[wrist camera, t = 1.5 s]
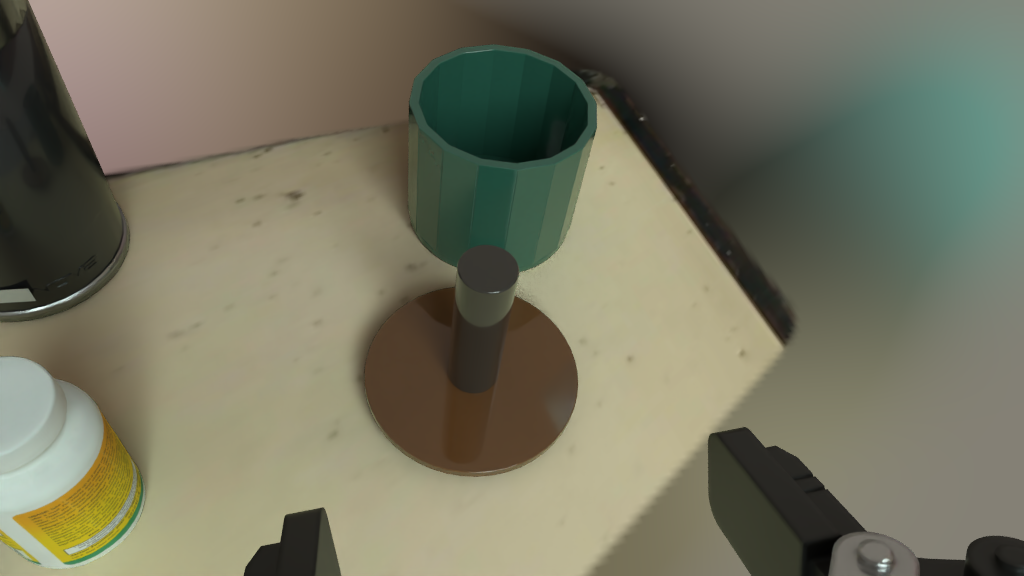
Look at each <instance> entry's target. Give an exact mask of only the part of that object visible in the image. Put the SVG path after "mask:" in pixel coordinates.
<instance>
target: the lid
mask: <svg viewBox="0 0 1024 576" xmlns="http://www.w3.org/2000/svg"><path fill="white" fill-rule="evenodd" d="M518 277H519V266H518V263H517V261H516V260H515V258H514V257H513V256H512V255H511V254H510V253H509V252H508V251H506V250H505V249H503V248H500V247H498V246H494V245H479V246H475V247H472V248H470V249H468V250H467V251H466V252H465V253H463V255H462V256H461V257H460V259H459V261H458V264H457V274H456V284H455V287H452V288H445V289H441V290H437V291H433V292H430V293H427V294H425V295H422V296H419V297H418V298H416V299H414V300H412V301H410V302H408V303H407V304H405V305H404V306H402V307H401V308H399V309H398V310H397V311H396V312H395V313H394V314H392V315H391V316H390V317H389V318H388V319H387V321H386V322H385V323H384V324H383V325H382V326H381V328H380V329H379V331H378V332H377V334H376V336H375V337H374V339H373V341H372V344H371V346H370V348H369V351H368V355H367V358H366V364H365V371H364V378H365V392H366V397H367V402H368V405H369V408H370V411H371V414H372V416H373V418H374V419H375V421H376V423H377V425H378V427H379V428H380V430H381V431H382V432H383V434H384V435H385V436H386V438H387V439H388V440H389V441H390V442H391V443H392V444H393V445H394V446H395V447H396V448H397V449H399V450H400V451H401V452H402V453H404V454H405V455H406V456H408V457H409V458H411V459H413V460H414V461H416V462H418V463H420V464H422V465H424V466H426V467H429V468H431V469H434V470H437V471H440V472H443V473H447V474H453V475H459V476H474V477H478V476H490V475H496V474H501V473H505V472H508V471H511V470H514V469H517V468H520V467H522V466H524V465H526V464H528V463H530V462H532V461H533V460H535V459H536V458H538V457H539V456H540V455H542V454H543V453H544V452H546V451H547V450H548V449H549V448H550V447H551V446H552V445H553V444H554V443H555V442H556V440H557V439H558V438H559V437H560V436H561V434H562V433H563V431H564V429H565V428H566V426H567V424H568V422H569V420H570V417H571V415H572V412H573V410H574V407H575V403H576V398H577V391H578V375H577V368H576V364H575V360H574V357H573V354H572V351H571V349H570V347H569V345H568V343H567V341H566V339H565V337H564V336H563V335H562V333H561V332H560V330H559V329H558V328H557V326H556V325H555V324H554V323H553V322H552V321H551V320H550V319H549V318H548V317H547V316H546V315H545V314H543V313H542V312H541V311H540V310H538V309H537V308H536V307H534V306H533V305H531V304H530V303H528V302H526V301H524V300H522V299H520V298H518V297H516V296H515V292H516V287H517V282H518Z"/></svg>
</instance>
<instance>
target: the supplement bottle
mask: <svg viewBox="0 0 1024 576" xmlns="http://www.w3.org/2000/svg"><path fill="white" fill-rule="evenodd" d="M144 502H145V486H144V481H143V478H142V476H141V473H140V471H139V470H138V468H137V466H136V464H135V463H134V462H133V460H132V458H131V457H130V455H129V454H128V452H127V450H126V449H125V448H124V446H123V445H122V443H121V441H120V440H119V438H118V437H117V435H116V434H115V432H114V431H113V429H112V428H111V426H110V425H109V423H108V422H107V420H106V419H105V417H104V416H103V414H102V412H101V411H100V409H99V407H98V406H97V404H96V403H95V402H94V401H93V400H92V398H91V397H90V396H89V395H88V394H87V393H86V392H84V391H83V390H81V389H80V388H79V387H77V386H75V385H73V384H71V383H69V382H66V381H63V380H59V379H55V378H53V377H52V376H51V374H50V373H49V372H48V371H47V370H46V369H45V368H44V367H42V366H41V365H40V364H38V363H36V362H34V361H32V360H29V359H26V358H22V357H15V356H0V540H2V541H3V542H4V543H5V544H6V545H7V546H9V547H10V548H11V549H13V550H14V551H15V552H16V553H18V554H19V555H21V556H22V557H23V558H25V559H26V560H28V561H29V562H31V563H33V564H36V565H38V566H42V567H46V568H53V569H66V568H73V567H78V566H82V565H85V564H88V563H90V562H92V561H94V560H96V559H98V558H100V557H102V556H103V555H105V554H107V553H108V552H110V551H111V550H112V549H114V548H115V547H117V546H118V545H119V544H120V543H121V542H122V541H123V540H124V539H125V538H126V537H127V536H128V535H129V534H130V532H131V531H132V530H133V528H134V527H135V525H136V523H137V522H138V520H139V518H140V516H141V513H142V510H143V506H144Z"/></svg>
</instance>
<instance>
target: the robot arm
mask: <svg viewBox="0 0 1024 576" xmlns="http://www.w3.org/2000/svg"><path fill="white" fill-rule="evenodd" d="M129 240H130V234H129V227H128V224H127V221H126V219H125V217H124V214H123V212H122V210H121V208H120V206H119V205H118V203H117V202H116V201H115V199H114V197H113V194H112V192H111V190H110V187H109V185H108V183H107V180H106V178H105V175H104V173H103V171H102V168H101V166H100V164H99V161H98V159H97V157H96V155H95V152H94V150H93V148H92V145H91V143H90V141H89V139H88V137H87V134H86V132H85V129H84V127H83V125H82V123H81V120H80V118H79V116H78V114H77V111H76V109H75V107H74V104H73V102H72V100H71V97H70V95H69V93H68V91H67V88H66V86H65V84H64V82H63V79H62V77H61V75H60V72H59V70H58V68H57V65H56V63H55V61H54V59H53V56H52V54H51V52H50V49H49V47H48V45H47V43H46V40H45V38H44V36H43V33H42V31H41V29H40V27H39V25H38V22H37V20H36V17H35V15H34V13H33V11H32V8H31V6H30V4H29V1H28V0H0V322H18V321H27V320H33V319H38V318H43V317H46V316H50V315H53V314H56V313H59V312H61V311H64V310H66V309H69V308H71V307H73V306H75V305H77V304H79V303H81V302H82V301H84V300H86V299H87V298H89V297H90V296H92V295H93V294H95V293H96V292H97V291H98V290H100V289H101V288H102V287H103V286H104V285H105V284H106V283H107V282H108V281H109V280H110V279H111V278H112V277H113V276H114V275H115V274H116V272H117V271H118V269H119V268H120V266H121V265H122V263H123V261H124V259H125V256H126V254H127V251H128V247H129ZM708 484H709V488H708V489H709V501H710V506H711V510H712V513H713V516H714V518H715V520H716V522H717V524H718V526H719V527H720V529H721V530H722V532H723V533H724V535H725V536H726V538H727V539H728V541H729V542H730V544H731V545H732V547H733V548H734V550H735V551H736V553H737V554H738V556H739V557H740V559H741V560H742V562H743V564H744V565H745V567H746V568H747V570H748V571H749V573H750V574H751V576H1024V541H1022V540H1019V539H1015V538H1010V537H1004V536H988V537H987V536H986V537H982V538H979V539H976V540H975V541H973V542H972V543H971V544H970V545H969V546H968V549H967V554H966V560H945V559H924V558H917V557H916V556H915V554H914V553H913V552H912V551H911V550H910V549H909V548H908V547H907V546H906V545H904V544H903V543H901V542H900V541H898V540H896V539H893V538H891V537H888V536H886V535H883V534H879V533H874V532H867V531H866V530H865V529H864V528H863V527H862V526H861V525H860V524H859V523H858V522H857V520H856V519H855V518H854V517H852V515H851V514H850V513H849V512H848V511H847V510H846V509H845V508H844V507H843V506H842V504H840V502H839V501H838V500H837V499H836V498H835V497H834V496H833V495H832V494H831V493H830V492H829V491H828V489H827V490H825V488H824V485H823V484H822V483H821V482H820V481H819V480H818V479H817V478H816V477H813V474H812V473H811V471H810V470H809V469H808V468H807V467H806V466H805V465H804V464H803V463H802V462H801V461H800V460H799V459H798V458H797V457H796V456H794V455H792V454H790V453H788V452H786V451H784V450H783V449H781V448H779V447H777V446H772V447H767V448H765V447H764V446H763V445H762V443H761V442H760V441H759V440H758V439H757V438H756V437H755V435H754V434H753V433H752V432H751V431H750V430H749V429H748V428H746V427H743V428H738V429H732V430H728V431H722V432H717V433H712V434H710V436H709V440H708ZM244 576H341V573H340V568H339V563H338V559H337V555H336V551H335V547H334V543H333V538H332V534H331V530H330V526H329V522H328V518H327V514H326V511H325V509H324V508H318V509H313V510H308V511H303V512H297V513H292V514H287V515H286V516H285V518H284V523H283V529H282V535H281V541H280V543H275V544H270V545H265V546H261V547H260V548H259V549H258V551H257V552H256V554H255V555H254V556H253V558H252V559H251V560H250V562H249V563H248V565H247V566H246V568H245V572H244Z"/></svg>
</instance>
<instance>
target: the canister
mask: <svg viewBox="0 0 1024 576" xmlns="http://www.w3.org/2000/svg"><path fill="white" fill-rule="evenodd" d="M596 129H597V104H596V101H595V100H594V98H593V96H592V95H591V93H590V91H589V90H588V88H587V86H586V85H585V83H584V81H583V80H582V79H581V78H579V77H578V76H577V75H576V74H574V73H573V72H572V71H570V70H569V69H568V68H567V67H565V66H564V65H563V64H561V63H560V62H558V61H556V60H554V59H551V58H549V57H546V56H544V55H541V54H539V53H536V52H534V51H531V50H527V49H523V48H516V47H509V46H502V45H493V44H492V45H482V46H473V47H464V48H459V49H457V50H454V51H452V52H450V53H447V54H445V55H442V56H440V57H438V58H435V59H433V60H432V61H431V62H430V63H429V64H428V65H427V66H426V67H425V68H424V69H423V70H422V71H421V72H420V73H419V74H418V75H417V76H416V77H415V79H414V82H413V86H412V91H411V95H410V100H409V149H408V210H409V214H410V220H411V224H412V227H413V229H414V231H415V233H416V235H417V236H418V238H419V240H420V241H421V242H422V243H423V245H424V246H425V247H426V248H427V249H428V250H429V251H430V252H432V253H433V254H434V255H435V256H437V257H438V258H440V259H441V260H443V261H445V262H446V263H448V264H450V265H452V266H455V267H457V264H458V261H459V259H460V257H461V256H462V255H463V253H465V252H466V251H467V250H468V249H470V248H472V247H475V246H479V245H494V246H498V247H500V248H503V249H505V250H506V251H508V252H509V253H510V254H511V255H512V256H513V257H514V258H515V260H516V261H517V263H518V266H519V272H521V271H525V270H528V269H530V268H533V267H535V266H537V265H539V264H541V263H543V262H544V261H546V260H547V259H548V258H550V257H551V256H552V255H553V254H554V253H555V252H556V251H557V250H558V248H559V247H560V246H561V244H562V243H563V241H564V239H565V237H566V233H567V232H568V230H569V228H570V225H571V221H572V217H573V214H574V210H575V206H576V203H577V199H578V195H579V191H580V188H581V184H582V180H583V177H584V173H585V169H586V166H587V162H588V158H589V154H590V151H591V147H592V143H593V140H594V136H595V132H596Z"/></svg>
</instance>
